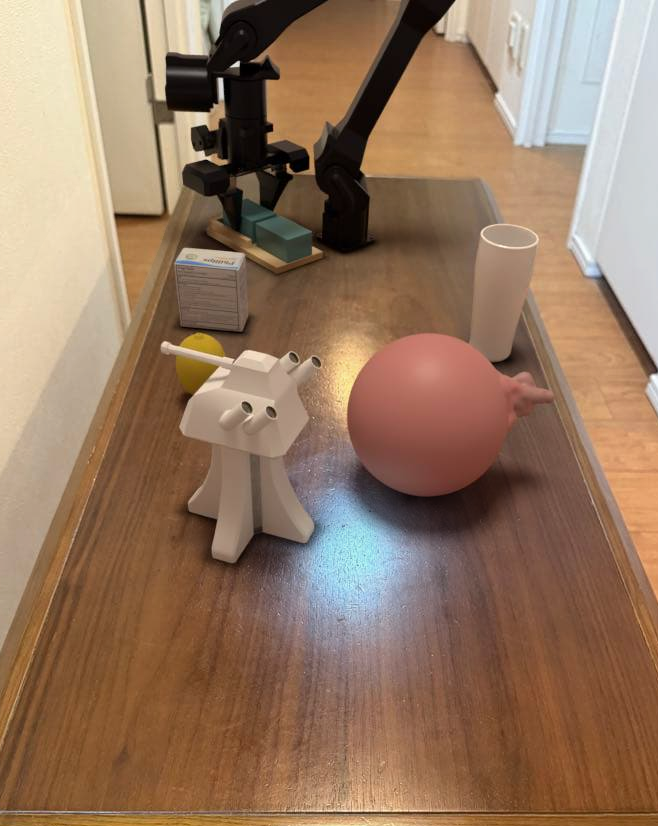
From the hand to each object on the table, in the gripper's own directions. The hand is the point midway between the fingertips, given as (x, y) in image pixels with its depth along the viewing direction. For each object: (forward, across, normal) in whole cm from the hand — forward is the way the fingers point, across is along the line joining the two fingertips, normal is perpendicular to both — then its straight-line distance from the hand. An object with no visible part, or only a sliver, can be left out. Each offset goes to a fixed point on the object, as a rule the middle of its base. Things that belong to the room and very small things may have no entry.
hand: (250, 226), depth 123 cm
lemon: (+2, +30, +30) cm, 42 cm away
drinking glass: (+2, -3, +44) cm, 44 cm away
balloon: (+2, +20, +57) cm, 60 cm away
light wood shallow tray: (+2, 0, +3) cm, 4 cm away
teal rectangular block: (+1, 0, 0) cm, 1 cm away
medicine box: (+2, +19, +17) cm, 26 cm away
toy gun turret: (+2, +39, +49) cm, 63 cm away
